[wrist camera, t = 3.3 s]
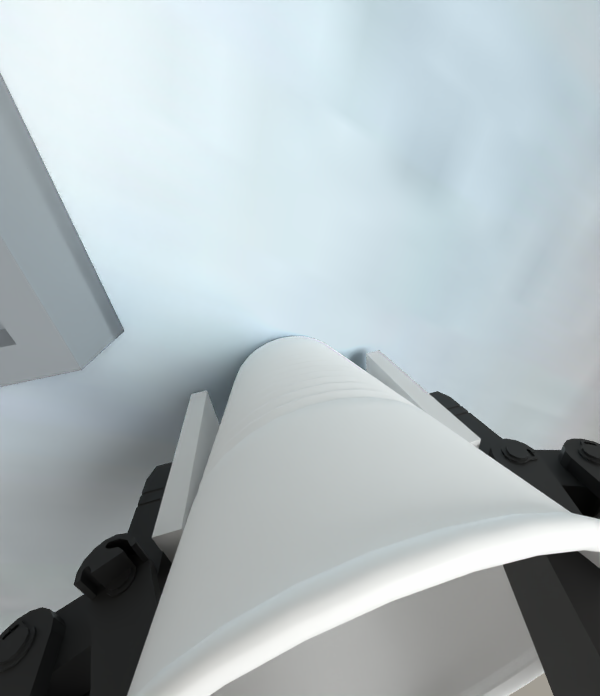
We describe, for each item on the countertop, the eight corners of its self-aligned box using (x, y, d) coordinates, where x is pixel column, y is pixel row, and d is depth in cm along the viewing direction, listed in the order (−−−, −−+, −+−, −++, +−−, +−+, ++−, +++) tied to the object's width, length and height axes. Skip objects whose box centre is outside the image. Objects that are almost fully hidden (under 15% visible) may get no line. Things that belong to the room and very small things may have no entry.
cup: (331, 459, 18) (446, 742, 8) (177, 439, 14) (50, 888, 5) (403, 329, 15) (739, 538, 5) (226, 265, 11) (151, 526, 1)
